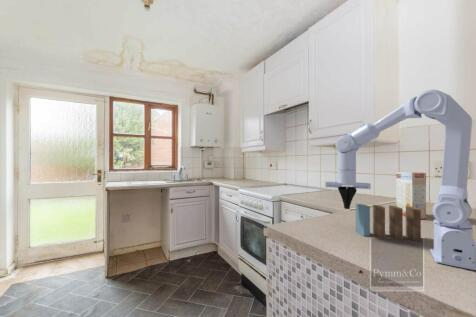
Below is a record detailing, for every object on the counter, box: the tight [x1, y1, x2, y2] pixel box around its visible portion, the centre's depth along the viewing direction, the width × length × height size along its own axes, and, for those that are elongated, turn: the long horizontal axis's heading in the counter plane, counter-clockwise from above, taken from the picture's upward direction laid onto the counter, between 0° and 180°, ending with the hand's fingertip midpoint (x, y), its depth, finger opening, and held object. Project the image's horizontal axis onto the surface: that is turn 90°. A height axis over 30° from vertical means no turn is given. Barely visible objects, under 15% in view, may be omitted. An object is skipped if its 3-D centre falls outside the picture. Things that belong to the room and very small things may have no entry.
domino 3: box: [388, 204, 404, 240], centre depth 73 cm, size 2×5×10 cm, turn 165°
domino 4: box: [405, 206, 422, 242], centre depth 72 cm, size 2×5×10 cm, turn 165°
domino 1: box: [355, 203, 371, 237], centre depth 76 cm, size 2×5×10 cm, turn 1°
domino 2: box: [372, 204, 386, 239], centre depth 75 cm, size 2×5×10 cm, turn 165°
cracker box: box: [395, 171, 427, 220], centre depth 104 cm, size 14×6×21 cm, turn 168°
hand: (346, 208), depth 77 cm, fingers closed
